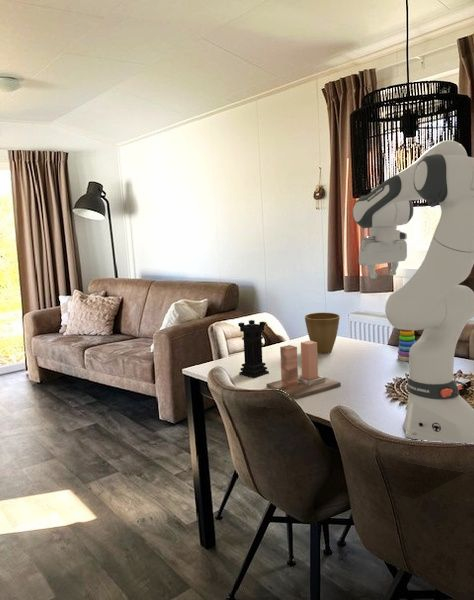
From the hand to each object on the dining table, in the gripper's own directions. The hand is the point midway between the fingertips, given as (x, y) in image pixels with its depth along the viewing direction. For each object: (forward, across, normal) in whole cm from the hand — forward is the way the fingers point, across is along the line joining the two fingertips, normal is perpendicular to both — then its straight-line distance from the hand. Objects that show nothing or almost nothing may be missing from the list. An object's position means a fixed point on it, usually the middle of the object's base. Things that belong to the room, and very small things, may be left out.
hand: (383, 276), depth 177 cm
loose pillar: (+36, -21, +15) cm, 44 cm away
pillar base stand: (+37, -24, +15) cm, 46 cm away
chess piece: (+37, -28, +39) cm, 61 cm away
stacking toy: (+37, +29, +13) cm, 49 cm away
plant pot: (+37, +13, +45) cm, 60 cm away
